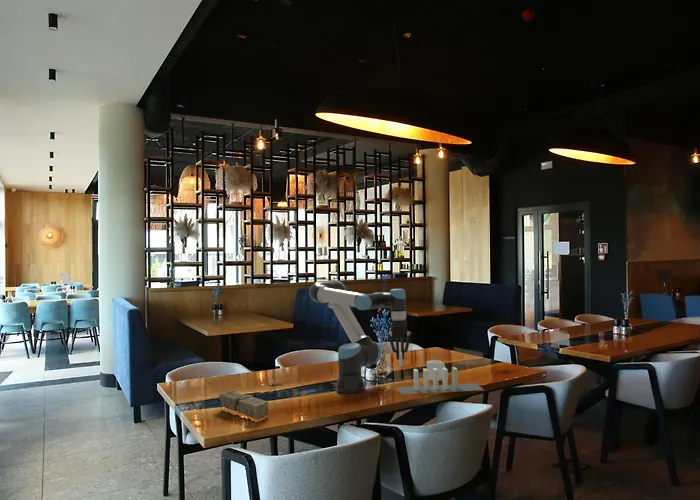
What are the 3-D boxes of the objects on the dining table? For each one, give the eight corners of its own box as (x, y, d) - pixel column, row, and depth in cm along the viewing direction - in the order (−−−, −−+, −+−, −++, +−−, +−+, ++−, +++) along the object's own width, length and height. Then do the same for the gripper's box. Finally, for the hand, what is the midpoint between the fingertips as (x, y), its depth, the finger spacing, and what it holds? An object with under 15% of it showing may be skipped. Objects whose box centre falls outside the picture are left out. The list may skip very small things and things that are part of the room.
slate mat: (401, 395, 264) (401, 394, 264) (396, 388, 278) (396, 387, 278) (484, 391, 268) (484, 390, 268) (475, 384, 282) (475, 383, 282)
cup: (424, 380, 294) (423, 361, 294) (439, 376, 301) (439, 358, 301) (434, 382, 287) (434, 364, 287) (450, 379, 294) (450, 360, 294)
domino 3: (435, 390, 270) (434, 370, 270) (433, 387, 275) (432, 368, 275) (438, 389, 270) (437, 370, 270) (436, 387, 275) (435, 368, 275)
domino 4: (445, 389, 271) (444, 369, 271) (442, 387, 276) (442, 367, 276) (448, 389, 271) (447, 369, 271) (445, 386, 276) (445, 367, 276)
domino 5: (455, 386, 276) (454, 367, 276) (458, 388, 271) (457, 369, 271) (452, 386, 276) (451, 367, 276) (454, 389, 271) (454, 369, 271)
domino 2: (425, 390, 270) (425, 370, 270) (423, 388, 275) (422, 368, 275) (428, 390, 270) (428, 370, 270) (426, 387, 275) (425, 368, 275)
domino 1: (415, 391, 269) (415, 371, 269) (413, 388, 274) (413, 369, 274) (418, 390, 270) (418, 371, 270) (416, 388, 275) (416, 368, 275)
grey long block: (270, 421, 233) (233, 406, 254) (270, 402, 233) (233, 389, 254) (255, 425, 228) (218, 410, 249) (255, 406, 228) (218, 392, 248)
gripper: (387, 320, 267) (389, 368, 267) (413, 319, 268) (414, 366, 268) (385, 319, 275) (386, 365, 274) (410, 317, 276) (411, 363, 275)
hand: (400, 365), depth 271 cm, fingers closed
